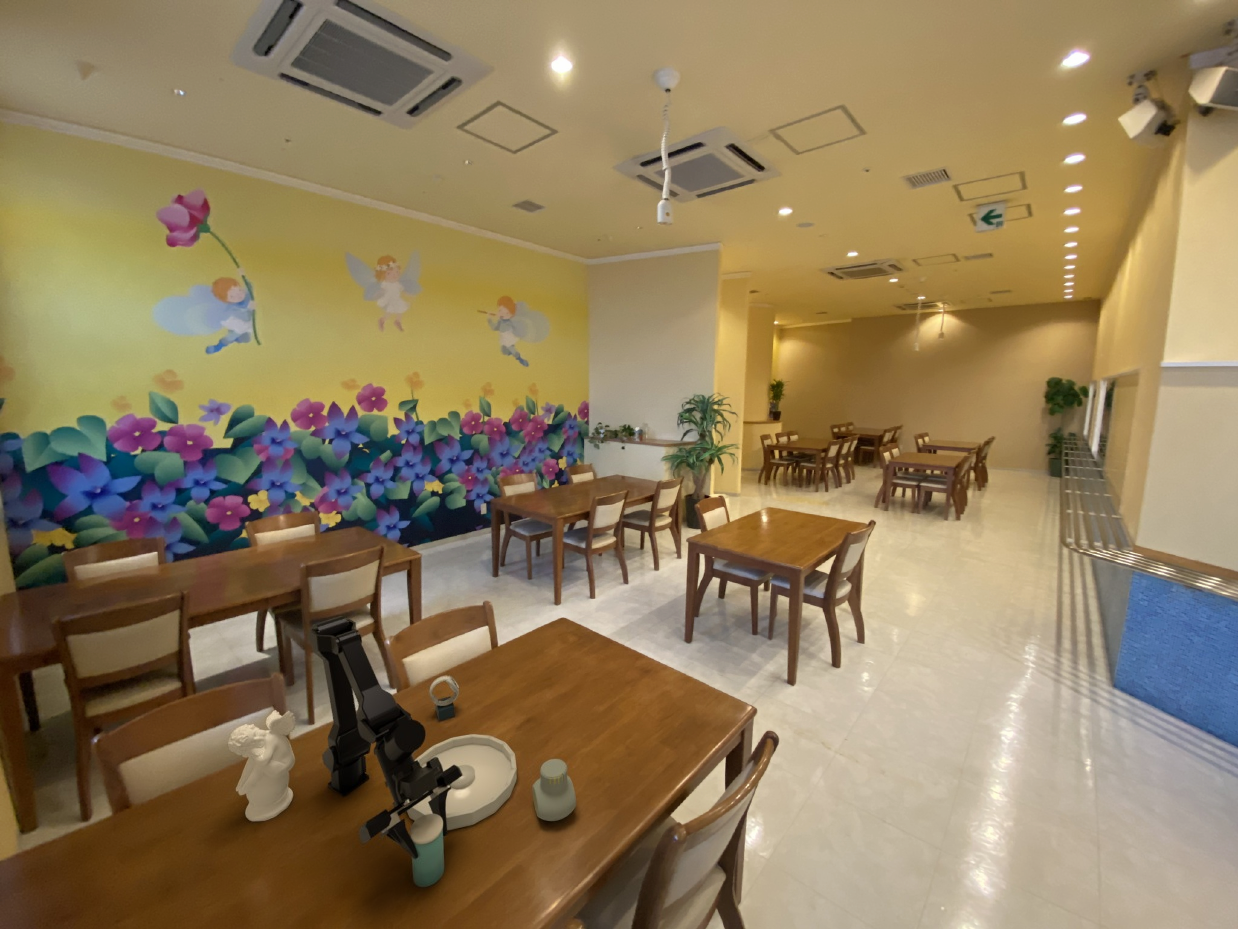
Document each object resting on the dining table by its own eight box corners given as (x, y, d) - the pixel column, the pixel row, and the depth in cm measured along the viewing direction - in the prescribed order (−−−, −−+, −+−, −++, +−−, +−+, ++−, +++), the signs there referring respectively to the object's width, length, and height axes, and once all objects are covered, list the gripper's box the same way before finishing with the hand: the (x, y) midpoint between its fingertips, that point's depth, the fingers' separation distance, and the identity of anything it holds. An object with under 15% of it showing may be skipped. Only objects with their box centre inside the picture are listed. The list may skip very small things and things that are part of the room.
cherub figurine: (231, 828, 104) (218, 733, 100) (257, 783, 115) (246, 697, 112) (297, 815, 107) (286, 722, 103) (315, 772, 119) (306, 688, 115)
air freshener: (530, 794, 114) (530, 755, 112) (565, 784, 116) (565, 746, 115) (540, 834, 103) (540, 791, 102) (578, 822, 106) (578, 781, 105)
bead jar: (426, 893, 91) (424, 845, 89) (405, 878, 94) (403, 831, 92) (451, 867, 96) (449, 821, 94) (430, 853, 99) (428, 809, 97)
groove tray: (460, 849, 100) (459, 836, 99) (379, 799, 111) (378, 787, 111) (537, 767, 121) (537, 756, 121) (463, 733, 133) (462, 723, 133)
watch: (461, 714, 141) (460, 679, 139) (432, 723, 137) (430, 686, 135) (457, 703, 146) (456, 669, 144) (429, 712, 142) (427, 676, 140)
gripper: (362, 783, 86) (397, 876, 81) (456, 728, 101) (490, 804, 96) (345, 799, 92) (376, 887, 87) (436, 745, 107) (467, 818, 102)
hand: (431, 847), depth 93 cm, fingers closed on bead jar, 6 cm apart
